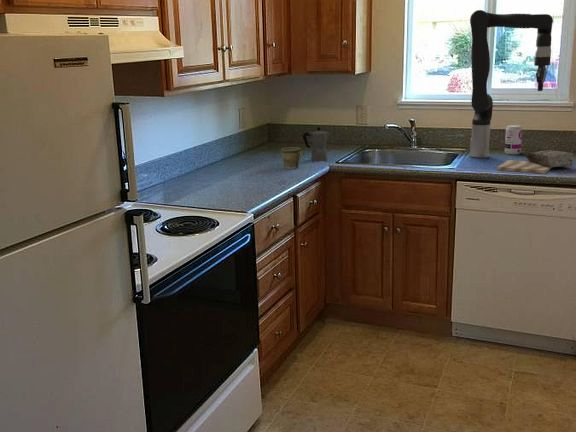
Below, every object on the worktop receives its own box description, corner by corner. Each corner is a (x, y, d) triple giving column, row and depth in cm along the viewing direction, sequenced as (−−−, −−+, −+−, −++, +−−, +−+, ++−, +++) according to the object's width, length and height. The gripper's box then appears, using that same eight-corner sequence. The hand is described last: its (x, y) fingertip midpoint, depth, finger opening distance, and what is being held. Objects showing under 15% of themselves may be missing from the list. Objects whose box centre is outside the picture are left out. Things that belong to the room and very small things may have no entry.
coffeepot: (329, 158, 348) (328, 125, 343) (333, 161, 339) (332, 127, 334) (301, 159, 345) (301, 127, 341) (305, 162, 336) (304, 129, 332)
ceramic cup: (277, 169, 322) (277, 149, 320) (288, 165, 330) (288, 146, 328) (299, 171, 315) (298, 151, 313) (309, 167, 323) (309, 148, 320)
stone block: (549, 146, 316) (573, 151, 297) (549, 159, 318) (574, 165, 299) (525, 150, 314) (548, 156, 295) (525, 164, 316) (549, 170, 297)
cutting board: (497, 169, 303) (497, 166, 303) (507, 162, 319) (508, 159, 319) (545, 173, 292) (545, 170, 291) (553, 166, 308) (554, 163, 307)
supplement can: (521, 152, 346) (523, 125, 342) (518, 155, 339) (520, 127, 335) (506, 151, 350) (508, 124, 346) (503, 154, 343) (504, 126, 339)
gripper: (538, 55, 323) (535, 89, 328) (531, 56, 312) (529, 91, 317) (553, 55, 319) (550, 89, 323) (547, 56, 308) (544, 92, 313)
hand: (540, 90), depth 320 cm, fingers closed
